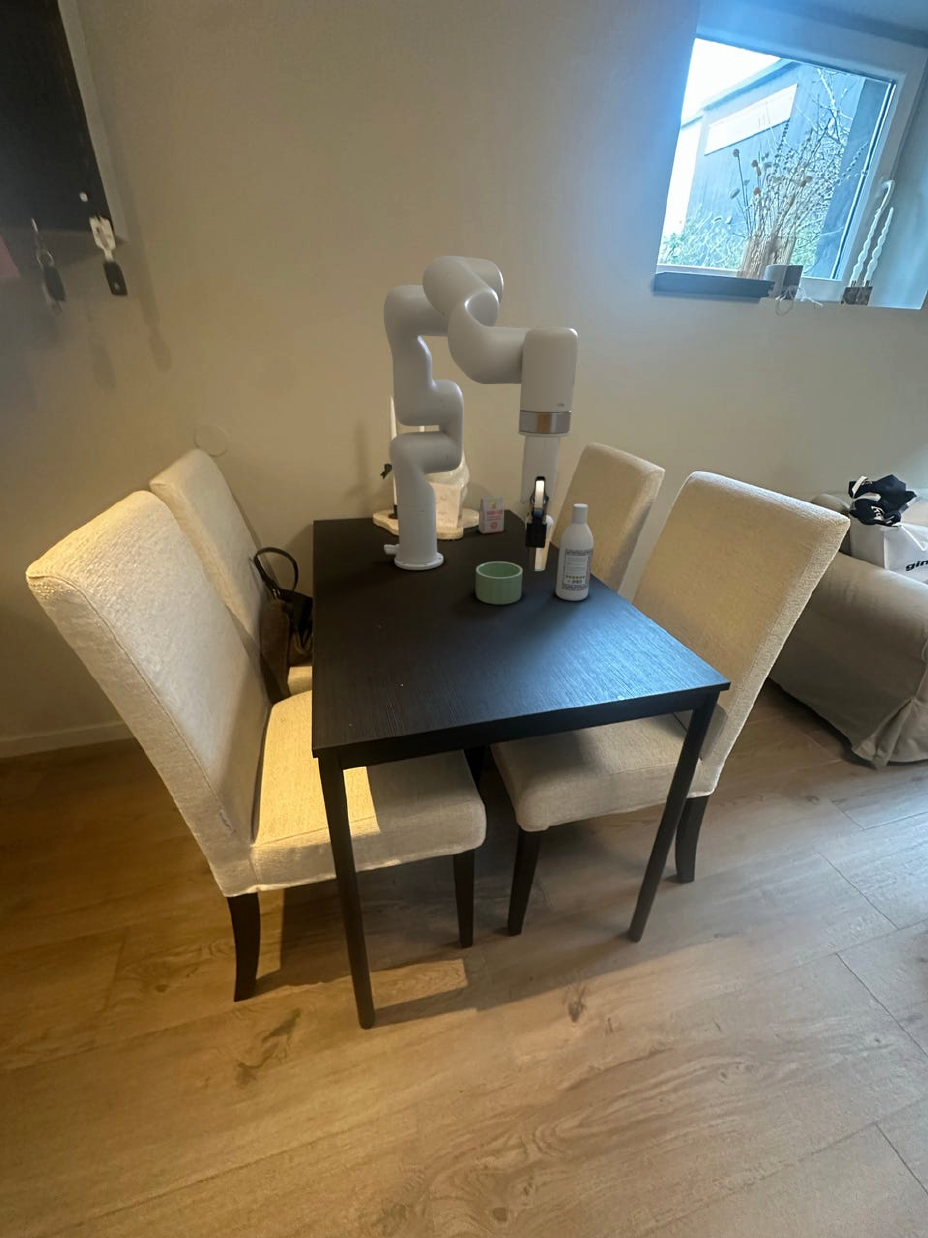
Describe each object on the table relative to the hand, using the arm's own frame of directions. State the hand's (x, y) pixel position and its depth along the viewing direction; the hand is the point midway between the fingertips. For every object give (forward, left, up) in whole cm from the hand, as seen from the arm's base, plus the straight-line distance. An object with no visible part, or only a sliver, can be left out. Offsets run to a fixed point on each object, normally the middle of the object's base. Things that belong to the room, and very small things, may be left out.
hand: (535, 540), depth 82 cm
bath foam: (+9, +23, -20) cm, 31 cm away
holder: (-7, +21, -19) cm, 29 cm away
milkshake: (0, 0, -5) cm, 5 cm away
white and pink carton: (-13, +69, -20) cm, 73 cm away
